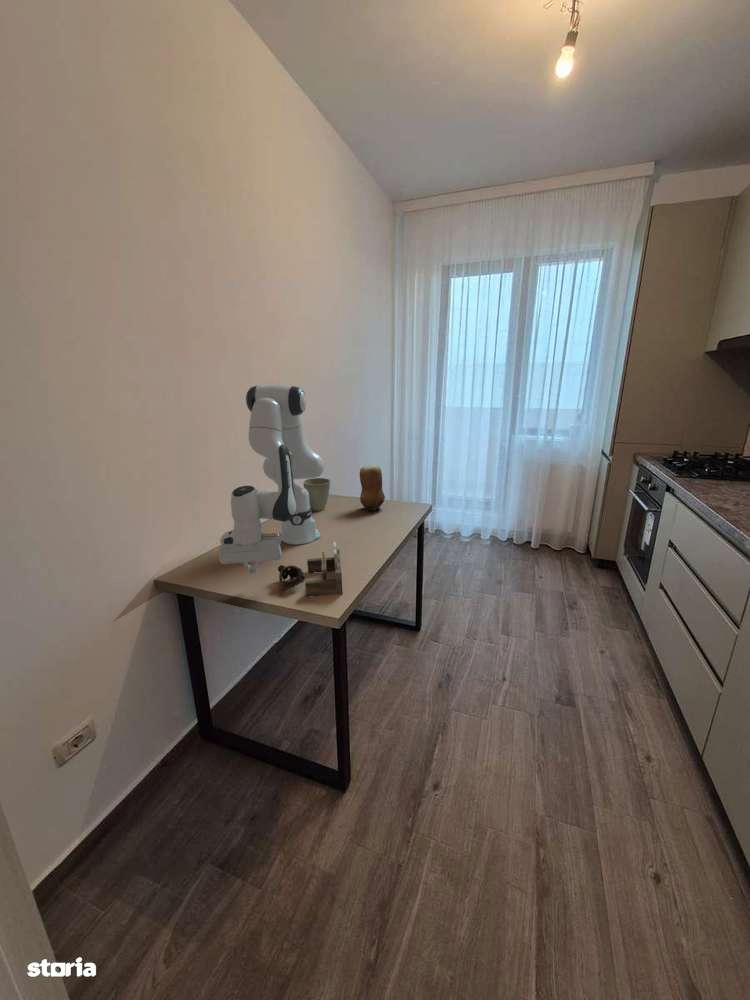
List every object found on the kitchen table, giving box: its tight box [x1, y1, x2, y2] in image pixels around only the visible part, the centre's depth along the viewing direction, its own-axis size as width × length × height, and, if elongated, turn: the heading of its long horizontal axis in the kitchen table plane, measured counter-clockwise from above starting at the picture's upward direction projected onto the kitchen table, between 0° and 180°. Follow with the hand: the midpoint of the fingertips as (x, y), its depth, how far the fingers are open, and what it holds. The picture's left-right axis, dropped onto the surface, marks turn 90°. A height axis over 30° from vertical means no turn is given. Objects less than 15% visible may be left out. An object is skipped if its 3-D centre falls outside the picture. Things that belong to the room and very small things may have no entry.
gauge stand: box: [304, 540, 344, 598], centre depth 140 cm, size 19×12×13 cm, turn 7°
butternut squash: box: [359, 464, 386, 511], centre depth 216 cm, size 14×13×25 cm
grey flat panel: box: [321, 551, 328, 580], centre depth 140 cm, size 10×2×11 cm, turn 7°
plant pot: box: [302, 477, 331, 512], centre depth 221 cm, size 15×15×16 cm
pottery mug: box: [277, 564, 306, 591], centre depth 140 cm, size 12×10×8 cm
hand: (252, 572), depth 137 cm, fingers closed
